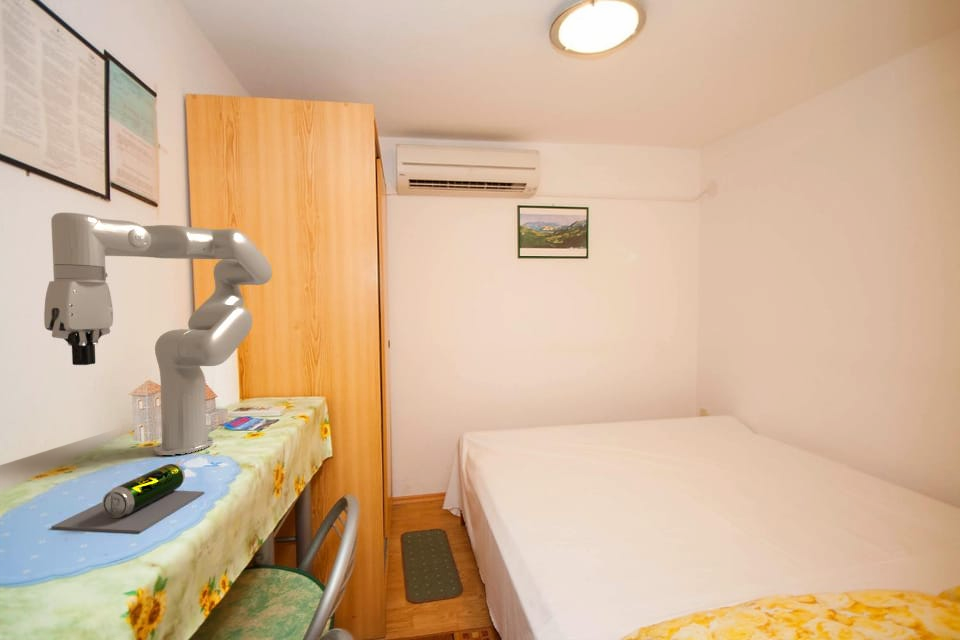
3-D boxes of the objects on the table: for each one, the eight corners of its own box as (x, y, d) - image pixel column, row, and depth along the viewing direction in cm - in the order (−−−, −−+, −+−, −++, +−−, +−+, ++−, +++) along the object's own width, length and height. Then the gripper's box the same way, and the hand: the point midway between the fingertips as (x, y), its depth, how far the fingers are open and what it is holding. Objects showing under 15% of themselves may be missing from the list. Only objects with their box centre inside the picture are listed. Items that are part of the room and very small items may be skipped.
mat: (130, 490, 81) (130, 488, 81) (204, 493, 79) (204, 491, 79) (51, 528, 67) (51, 526, 67) (139, 533, 66) (139, 530, 66)
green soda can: (184, 490, 81) (126, 522, 69) (160, 485, 81) (99, 516, 69) (188, 465, 80) (130, 492, 69) (164, 460, 81) (102, 486, 69)
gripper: (97, 277, 88) (101, 359, 89) (19, 272, 73) (24, 370, 74) (131, 277, 88) (134, 359, 89) (59, 272, 73) (63, 370, 74)
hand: (84, 364), depth 81 cm, fingers closed
